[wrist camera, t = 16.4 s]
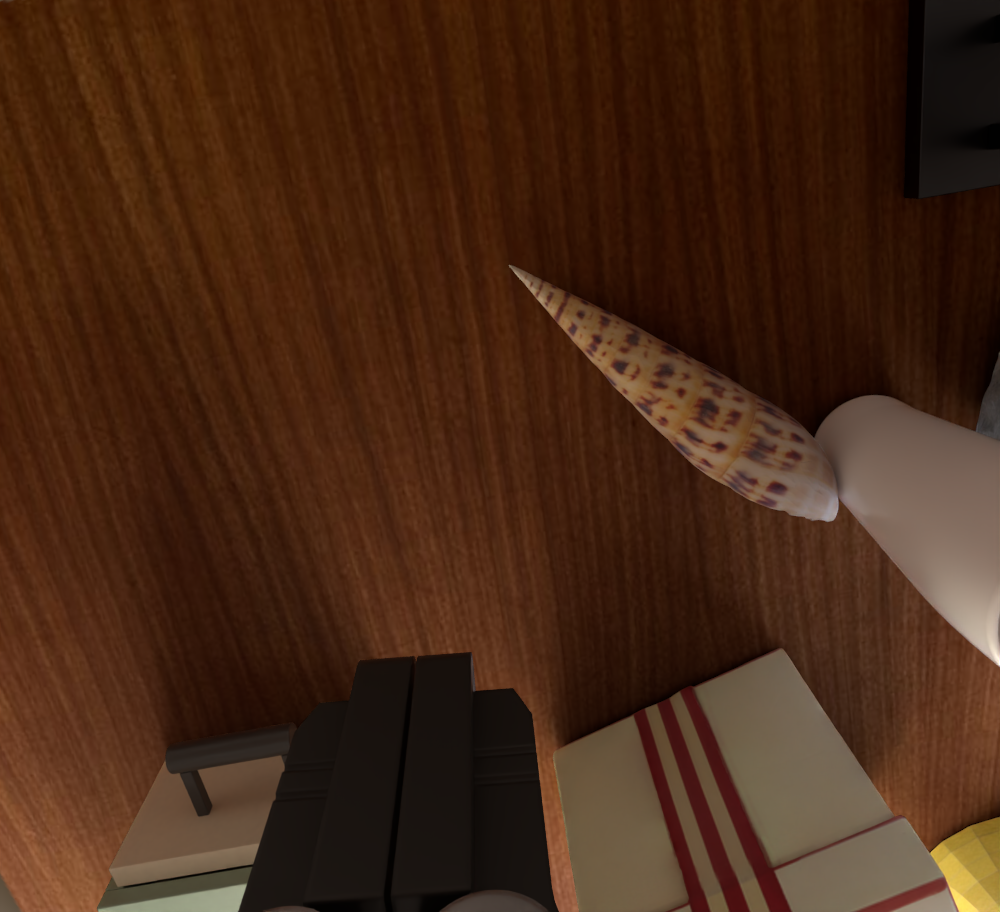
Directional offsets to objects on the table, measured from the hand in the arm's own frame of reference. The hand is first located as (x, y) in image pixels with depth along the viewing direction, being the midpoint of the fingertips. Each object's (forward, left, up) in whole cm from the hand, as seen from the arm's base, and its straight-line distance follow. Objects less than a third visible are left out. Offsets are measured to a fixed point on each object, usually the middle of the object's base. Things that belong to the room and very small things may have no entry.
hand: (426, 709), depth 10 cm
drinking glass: (+13, +16, -26) cm, 33 cm away
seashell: (+6, +8, -26) cm, 28 cm away
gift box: (+32, +4, -26) cm, 41 cm away
